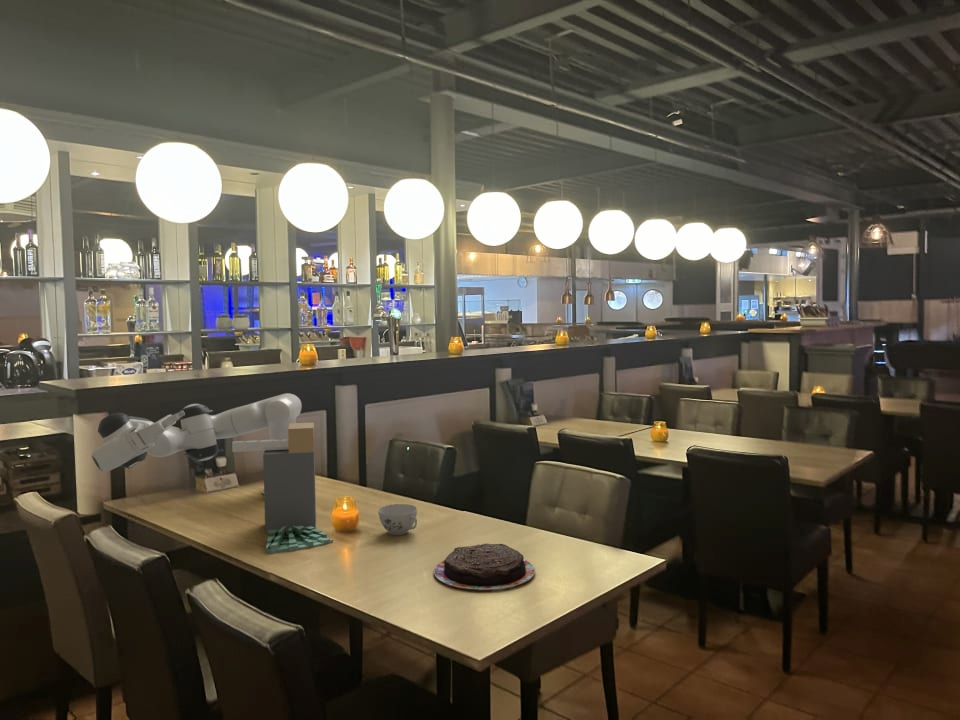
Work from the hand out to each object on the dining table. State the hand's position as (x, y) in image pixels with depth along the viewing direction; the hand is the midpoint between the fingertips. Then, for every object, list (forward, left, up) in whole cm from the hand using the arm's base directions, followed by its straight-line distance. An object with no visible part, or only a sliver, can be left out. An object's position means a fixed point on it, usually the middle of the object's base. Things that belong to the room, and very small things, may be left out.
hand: (180, 414), depth 239 cm
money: (+20, +35, -40) cm, 57 cm away
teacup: (+17, +69, -39) cm, 81 cm away
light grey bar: (+1, +28, -13) cm, 31 cm away
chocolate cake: (+58, +88, -40) cm, 112 cm away
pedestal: (+1, +34, -39) cm, 52 cm away
